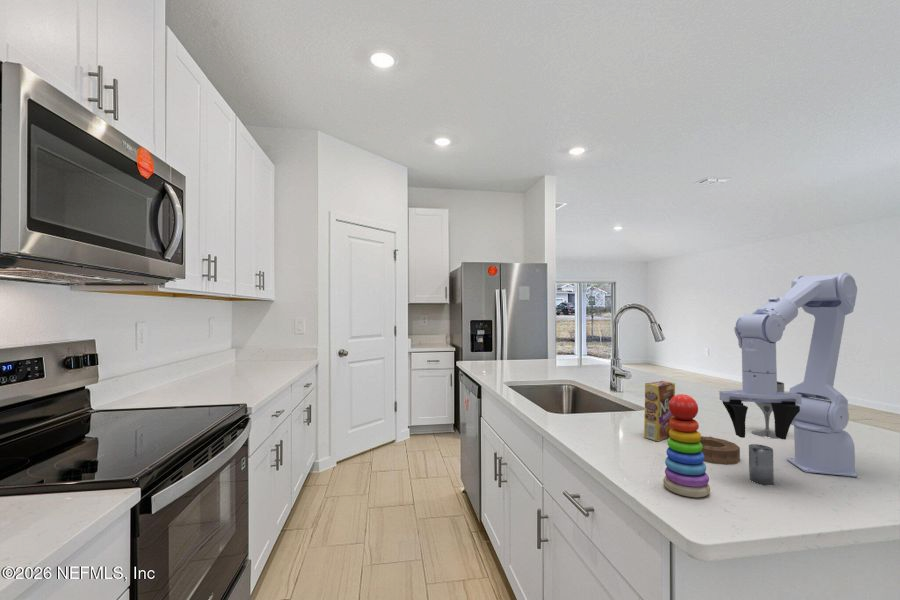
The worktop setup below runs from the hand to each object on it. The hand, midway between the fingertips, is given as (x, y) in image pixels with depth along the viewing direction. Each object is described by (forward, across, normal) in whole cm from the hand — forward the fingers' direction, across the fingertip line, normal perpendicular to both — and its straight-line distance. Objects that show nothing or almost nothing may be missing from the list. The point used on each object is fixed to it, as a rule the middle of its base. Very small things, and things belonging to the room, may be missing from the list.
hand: (760, 437), depth 83 cm
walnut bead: (+9, +3, -15) cm, 17 cm away
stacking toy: (+9, +17, +6) cm, 21 cm away
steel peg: (+9, 0, 0) cm, 9 cm away
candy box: (+9, +10, -28) cm, 31 cm away
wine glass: (+9, -22, -35) cm, 42 cm away
